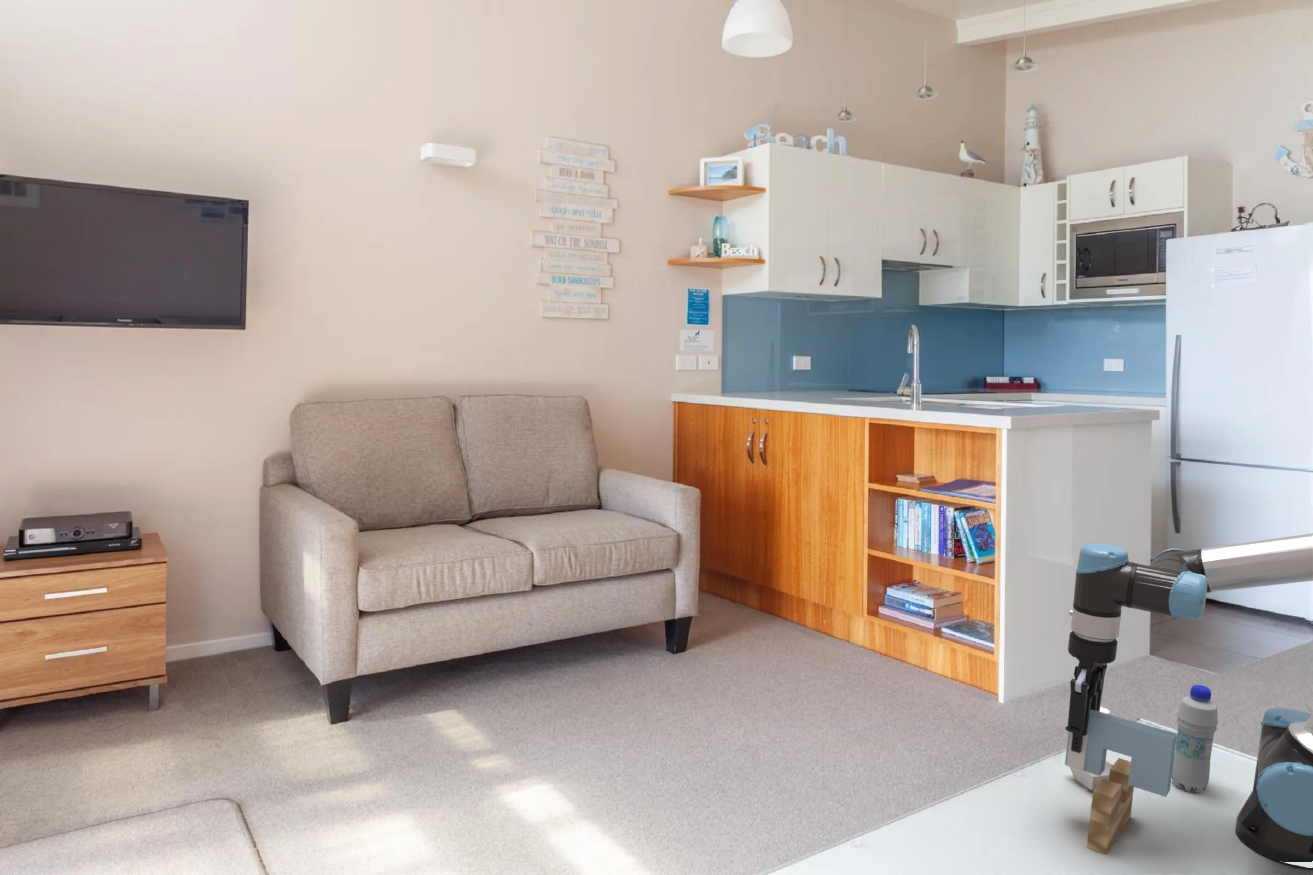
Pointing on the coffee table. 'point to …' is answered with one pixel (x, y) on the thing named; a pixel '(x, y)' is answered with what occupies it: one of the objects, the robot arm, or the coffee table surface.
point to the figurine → (1089, 778)
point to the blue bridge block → (1131, 750)
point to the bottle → (1194, 739)
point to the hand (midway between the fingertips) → (1078, 763)
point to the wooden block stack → (1110, 807)
